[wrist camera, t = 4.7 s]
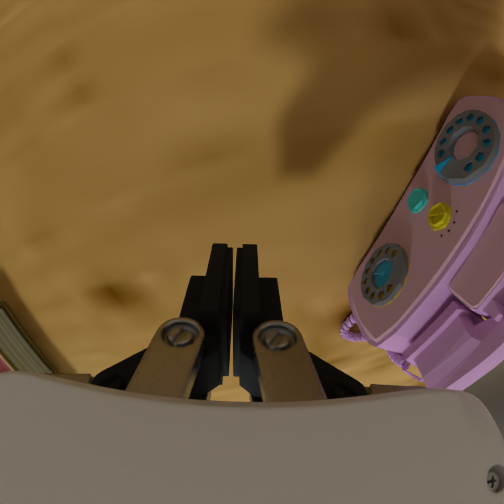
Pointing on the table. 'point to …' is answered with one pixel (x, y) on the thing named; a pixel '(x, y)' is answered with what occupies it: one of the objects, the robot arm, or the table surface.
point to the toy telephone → (442, 258)
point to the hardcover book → (19, 347)
